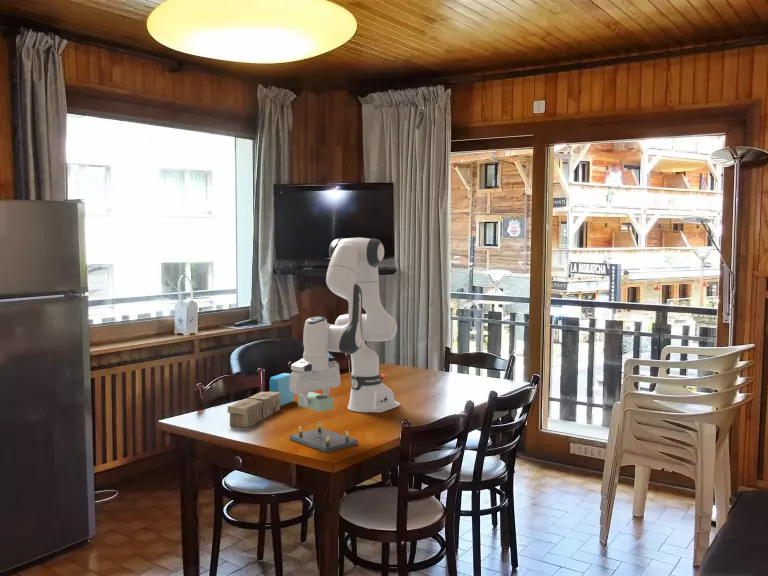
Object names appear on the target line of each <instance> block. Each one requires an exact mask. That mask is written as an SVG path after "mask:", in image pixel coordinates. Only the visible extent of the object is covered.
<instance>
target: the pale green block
mask: <svg viewBox="0 0 768 576" xmlns="http://www.w3.org/2000/svg"><path fill="white" fill-rule="evenodd" d="M297 395H298V397H297V398H298V399H297V400H298V401H297V402H298V403H297V404H298V407H302V408H306V409H309V410H311V411H315V412H323V411H329V410H333V409H334V397H332V396H330V395H328V396H325V395H323V393H322V394H321V393H318V392H315V391H311V392H308V395H307V397H308V399H311V401H310V404H308V405H306V404H304V398H303V397H302V395H301V393H300V394H297Z"/></svg>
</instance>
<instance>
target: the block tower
mask: <svg viewBox="0 0 768 576" xmlns="http://www.w3.org/2000/svg"><path fill="white" fill-rule="evenodd" d="M280 407H281V406H280V392H270V391H260V392H257V393H256V394H253V395H252V396H251V395H250V396H249V397H248V398H244V399H242V400H240V401H238V402H235V403H234V404H231V405H227V414H229V427H238V428H249V427H250V428H251V426H253V425H255V424H257V423H259V422H260V421H262V420H264V419H265V418H268V417H270V416H271V415H273V414H274V413H277V412H278V411H280Z"/></svg>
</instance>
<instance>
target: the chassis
mask: <svg viewBox="0 0 768 576" xmlns="http://www.w3.org/2000/svg"><path fill="white" fill-rule="evenodd" d="M344 432H345V433H344V434H341V433H337V432H335V431H331V430H328V429H326V428H323V427H322V422H321V421H319V422H317V428H316V429H312V430H307V431H303V426H300V425H299V426H298V433H294V434H290V435H289V441H293V442H295V443H298V444H301V445H304V446H306V447H310V448H311V449H315V450H318V451H320V452H323V453H329V452H334V451H337V450H341V449H344V448H349V447H352V446H356V445H358V444H359V439H356V438H353V437H351V436H349V435H350V432H349V430H345V431H344Z"/></svg>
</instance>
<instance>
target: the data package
mask: <svg viewBox="0 0 768 576" xmlns="http://www.w3.org/2000/svg"><path fill="white" fill-rule="evenodd" d="M290 375H291V373H289V372H288V373H287V372H283V373H280V374H277V375H274V376H270V379H269V392H280V407H282V406H285V405H287V404H289V403H293V402H294V400H295V393H292V392H291V391H290Z"/></svg>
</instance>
